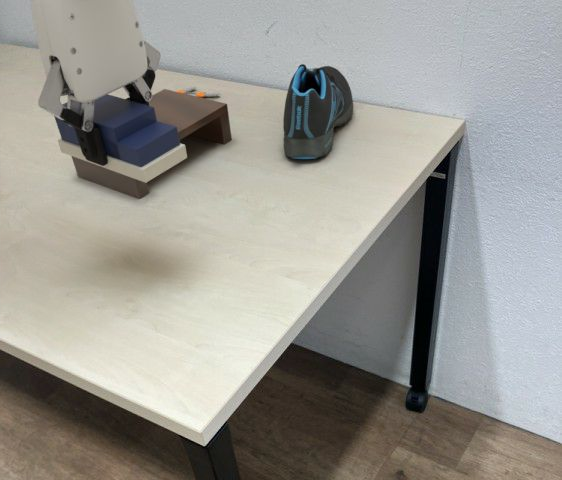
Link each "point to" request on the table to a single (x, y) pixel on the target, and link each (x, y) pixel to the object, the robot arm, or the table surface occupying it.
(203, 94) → the key chain
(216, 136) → the shoe shelf
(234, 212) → the table surface
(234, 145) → the table surface
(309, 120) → the running shoe
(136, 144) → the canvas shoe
